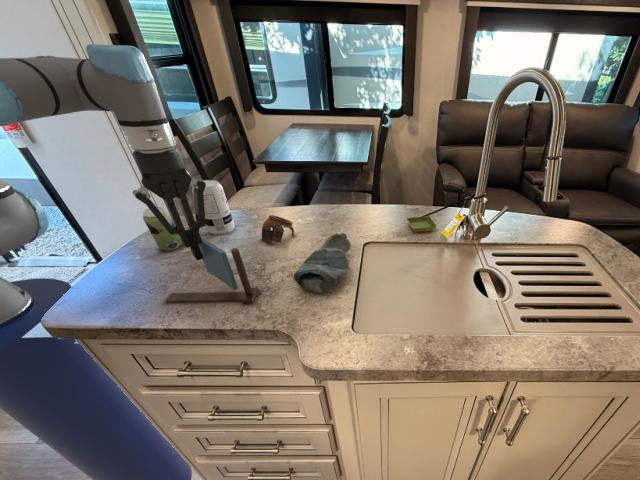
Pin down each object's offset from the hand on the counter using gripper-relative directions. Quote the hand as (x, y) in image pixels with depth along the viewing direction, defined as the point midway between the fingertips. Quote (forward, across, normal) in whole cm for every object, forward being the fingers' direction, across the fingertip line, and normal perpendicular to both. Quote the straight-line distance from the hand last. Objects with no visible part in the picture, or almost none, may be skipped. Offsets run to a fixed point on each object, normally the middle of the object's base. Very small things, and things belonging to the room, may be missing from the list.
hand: (198, 257), depth 75 cm
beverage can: (+9, -1, +28) cm, 29 cm away
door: (+6, +2, -2) cm, 7 cm away
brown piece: (+8, +25, +12) cm, 29 cm away
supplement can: (+9, +14, +30) cm, 34 cm away
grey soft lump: (+8, +27, -13) cm, 31 cm away
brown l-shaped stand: (+8, -1, -5) cm, 10 cm away
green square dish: (+8, +65, -12) cm, 66 cm away
